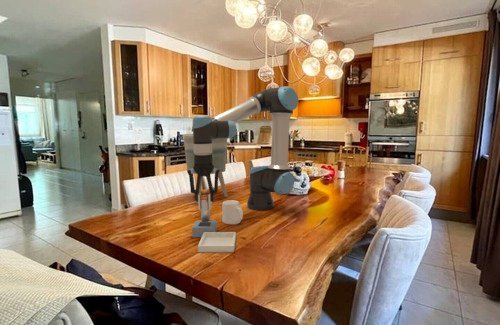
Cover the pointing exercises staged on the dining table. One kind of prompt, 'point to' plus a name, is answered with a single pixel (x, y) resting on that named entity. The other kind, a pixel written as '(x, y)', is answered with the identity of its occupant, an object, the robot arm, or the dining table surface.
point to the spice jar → (204, 208)
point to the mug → (231, 212)
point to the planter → (217, 155)
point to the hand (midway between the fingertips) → (205, 208)
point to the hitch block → (203, 227)
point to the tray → (217, 242)
